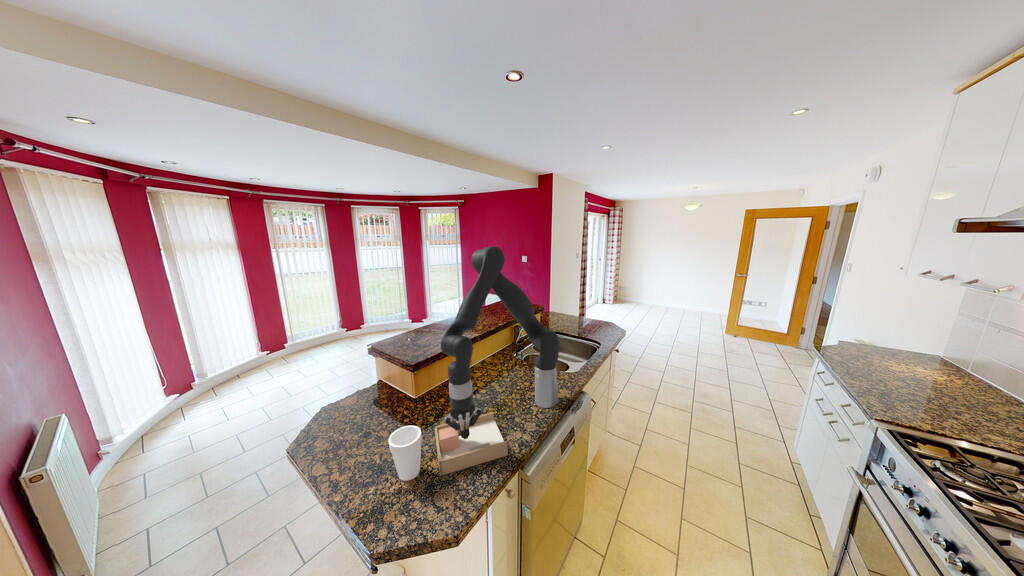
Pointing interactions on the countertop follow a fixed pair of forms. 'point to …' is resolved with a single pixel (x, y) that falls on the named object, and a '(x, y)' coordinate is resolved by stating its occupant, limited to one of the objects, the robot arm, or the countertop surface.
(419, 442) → the foam cup
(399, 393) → the countertop surface
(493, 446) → the box
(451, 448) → the block
